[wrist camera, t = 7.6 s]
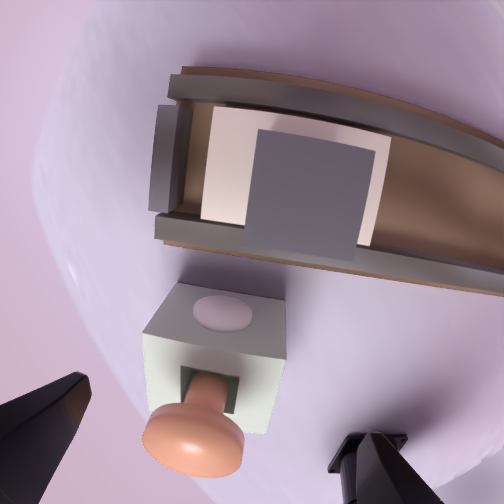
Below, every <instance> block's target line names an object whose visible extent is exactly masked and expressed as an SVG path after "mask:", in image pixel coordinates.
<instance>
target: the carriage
mask: <svg viewBox="0 0 504 504" xmlns="http://www.w3.org/2000/svg"><path fill="white" fill-rule="evenodd" d="M390 143H391V137H388V136H385V135H381V134H377V133H373V132H369V131H365V130H361V129H357V128H352V127H348V126H343V125H339V124H334V123H329V122H324V121H319V120H314V119H308V118H303V117H297V116H291V115H284V114H278V113H271V112H263V111H256V110H247V109H238V108H229V107H217V106H214V109H213V117H212V124H211V131H210V139H209V147H208V155H207V163H206V172H205V181H204V190H203V199H202V209H201V219H205V220H212V221H219V222H225V223H232V224H239V225H245V226H244V234H243V241H242V244H245V245H251V246H257V247H264V248H270V249H276V250H283V251H289V252H295V253H301V254H308V255H314V256H320V257H326V258H333V259H339V260H345V261H351V262H353V258H354V254H355V250H356V246H357V244H361V245H366V246H370V242H371V238H372V234H373V230H374V225H375V221H376V217H377V212H378V208H379V203H380V198H381V193H382V188H383V183H384V178H385V173H386V167H387V161H388V156H389V150H390Z"/></svg>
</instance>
